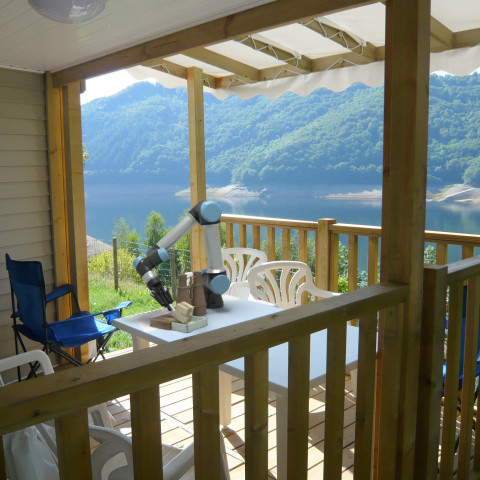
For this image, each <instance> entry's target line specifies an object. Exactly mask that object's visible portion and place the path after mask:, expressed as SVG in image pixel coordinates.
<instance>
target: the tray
mask: <svg viewBox="0 0 480 480" xmlns="http://www.w3.org/2000/svg"><path fill="white" fill-rule="evenodd" d="M207 326H208V318H207V317H203V316H192V318H191V321H190V322H187V323H185V324H179V323H174V322H171V327H172V330H171V331H177V332H181V333H186V334H188V333H191V332H193V331H197V330H199V329H201V328H204V327H207Z"/></svg>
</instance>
